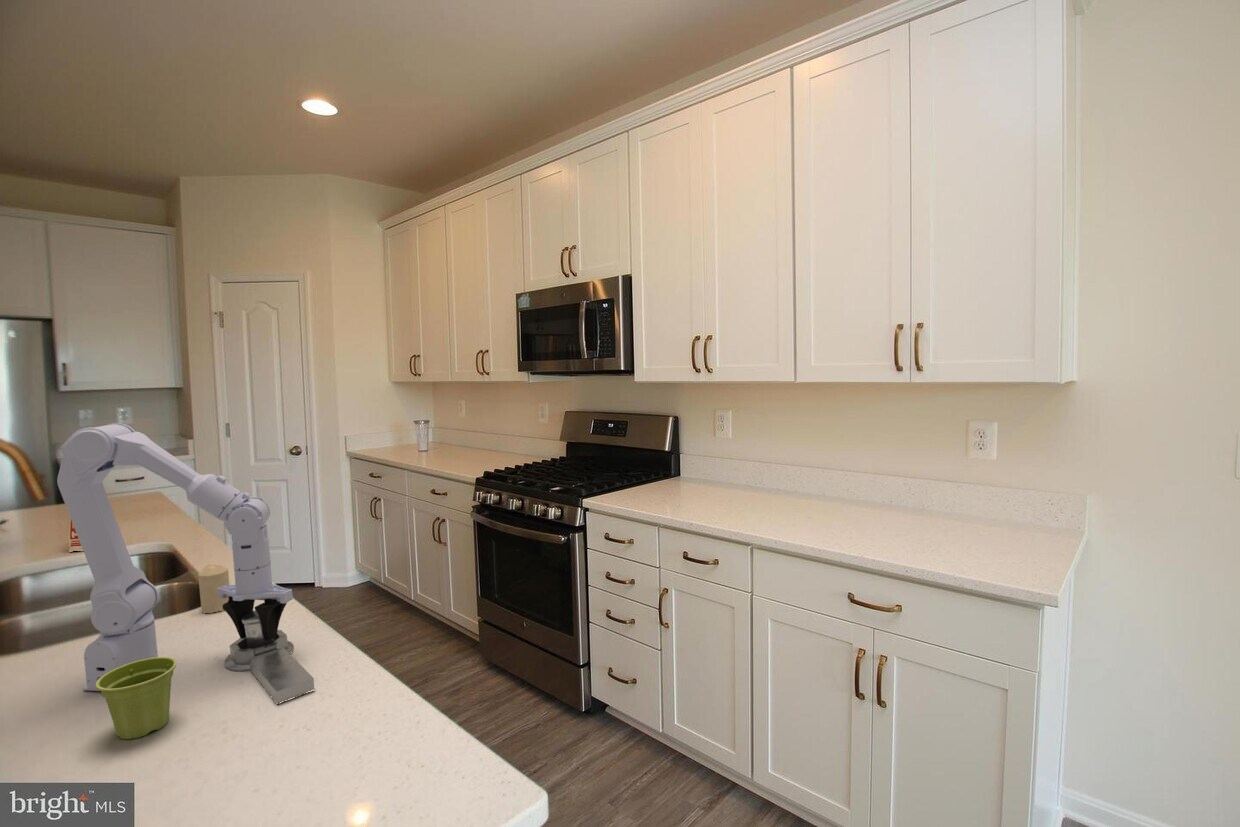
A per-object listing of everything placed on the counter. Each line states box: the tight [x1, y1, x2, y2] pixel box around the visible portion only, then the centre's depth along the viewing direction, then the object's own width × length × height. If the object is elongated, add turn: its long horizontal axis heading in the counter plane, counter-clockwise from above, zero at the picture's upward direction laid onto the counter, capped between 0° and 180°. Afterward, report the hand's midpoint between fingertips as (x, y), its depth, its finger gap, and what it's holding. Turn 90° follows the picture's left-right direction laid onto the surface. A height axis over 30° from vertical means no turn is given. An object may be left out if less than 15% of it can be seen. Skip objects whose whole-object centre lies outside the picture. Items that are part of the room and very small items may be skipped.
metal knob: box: [241, 609, 276, 649], centre depth 111 cm, size 5×5×6 cm
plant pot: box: [96, 656, 178, 740], centre depth 90 cm, size 9×9×9 cm
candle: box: [197, 564, 230, 614], centre depth 134 cm, size 6×6×10 cm
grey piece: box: [223, 629, 315, 704], centre depth 106 cm, size 26×11×3 cm, turn 45°
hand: (258, 637), depth 111 cm, fingers closed on metal knob, 5 cm apart
